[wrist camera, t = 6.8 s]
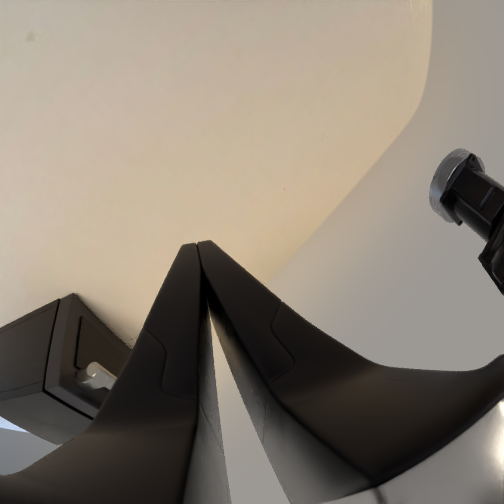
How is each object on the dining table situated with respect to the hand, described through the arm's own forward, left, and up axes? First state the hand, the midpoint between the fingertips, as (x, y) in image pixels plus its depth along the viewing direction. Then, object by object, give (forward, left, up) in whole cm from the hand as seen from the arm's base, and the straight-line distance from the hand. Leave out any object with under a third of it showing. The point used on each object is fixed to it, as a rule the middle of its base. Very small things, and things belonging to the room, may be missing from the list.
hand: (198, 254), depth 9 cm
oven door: (-1, +17, -11) cm, 20 cm away
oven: (+4, +23, -11) cm, 26 cm away
